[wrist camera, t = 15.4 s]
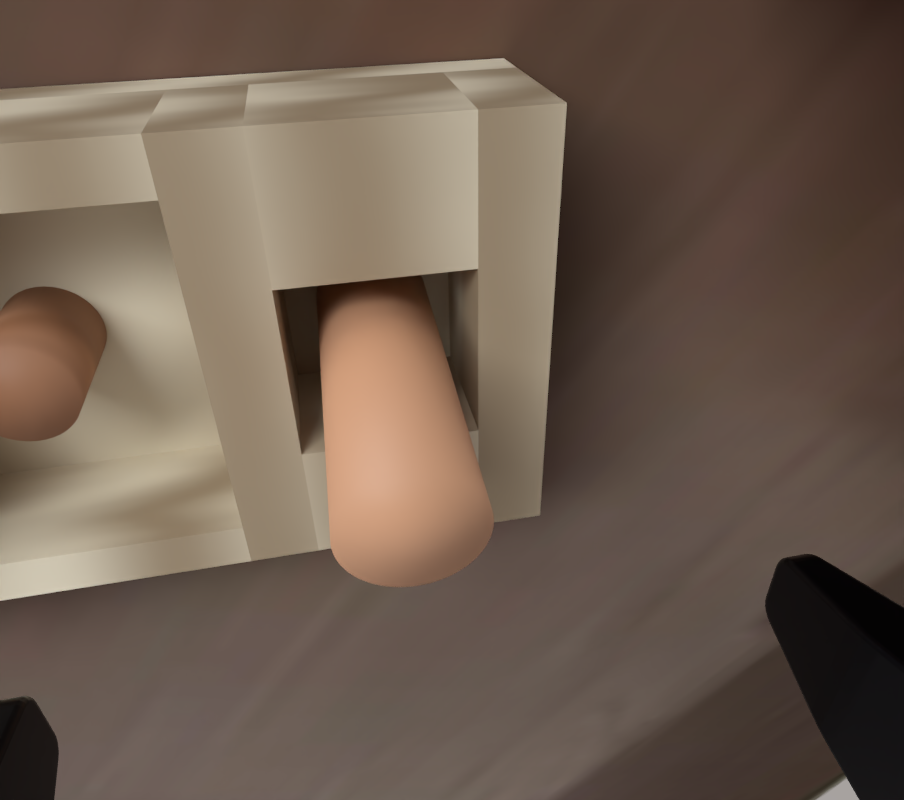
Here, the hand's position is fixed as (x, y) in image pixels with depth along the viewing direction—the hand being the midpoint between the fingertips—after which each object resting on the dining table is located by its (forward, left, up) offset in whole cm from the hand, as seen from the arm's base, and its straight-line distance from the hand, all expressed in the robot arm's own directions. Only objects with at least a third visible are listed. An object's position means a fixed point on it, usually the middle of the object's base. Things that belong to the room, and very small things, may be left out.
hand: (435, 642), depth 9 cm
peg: (0, 0, -9) cm, 9 cm away
